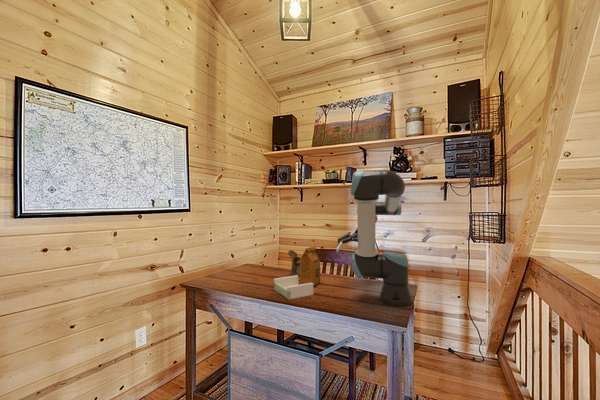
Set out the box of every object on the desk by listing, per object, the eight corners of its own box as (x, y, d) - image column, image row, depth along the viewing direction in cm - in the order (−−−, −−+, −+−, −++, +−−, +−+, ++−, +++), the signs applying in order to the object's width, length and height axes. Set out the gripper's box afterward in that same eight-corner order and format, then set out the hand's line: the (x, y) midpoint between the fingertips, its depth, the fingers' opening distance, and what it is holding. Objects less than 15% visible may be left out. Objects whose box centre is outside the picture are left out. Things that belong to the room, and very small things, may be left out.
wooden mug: (284, 277, 179) (284, 249, 179) (293, 272, 192) (293, 246, 192) (297, 279, 176) (297, 250, 176) (305, 273, 188) (305, 247, 188)
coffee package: (323, 283, 167) (323, 246, 167) (312, 288, 157) (312, 249, 157) (309, 280, 173) (309, 244, 173) (297, 285, 163) (297, 247, 163)
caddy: (313, 294, 147) (313, 283, 147) (288, 299, 140) (288, 287, 140) (297, 285, 163) (297, 275, 163) (273, 289, 156) (273, 278, 156)
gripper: (383, 241, 163) (370, 266, 149) (344, 230, 176) (328, 252, 162) (383, 231, 159) (369, 256, 145) (343, 221, 172) (327, 243, 158)
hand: (348, 254), depth 153 cm, fingers open, 13 cm apart
